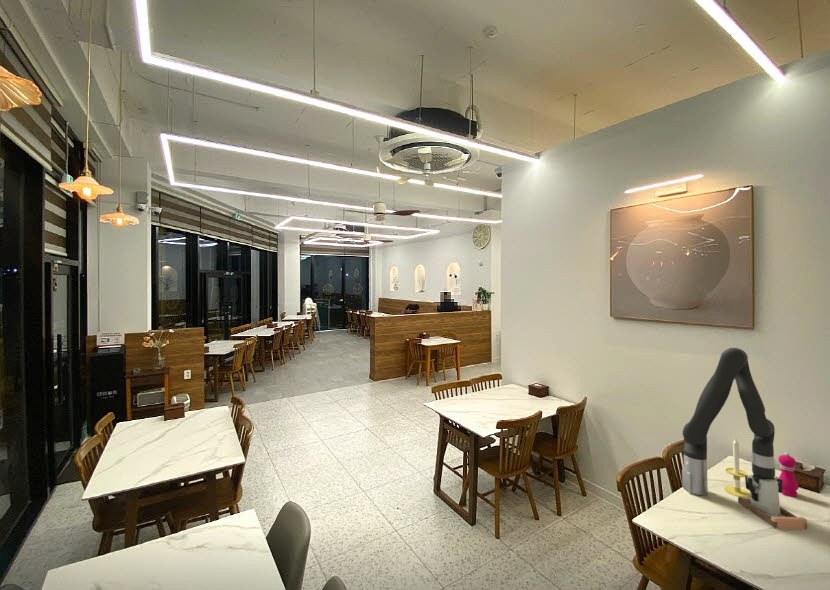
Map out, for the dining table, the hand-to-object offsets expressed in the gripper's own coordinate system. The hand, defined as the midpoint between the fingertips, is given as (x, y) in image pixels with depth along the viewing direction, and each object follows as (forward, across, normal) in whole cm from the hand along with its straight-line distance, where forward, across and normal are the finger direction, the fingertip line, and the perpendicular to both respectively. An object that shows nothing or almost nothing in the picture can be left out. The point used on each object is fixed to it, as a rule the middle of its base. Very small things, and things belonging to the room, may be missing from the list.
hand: (764, 500), depth 163 cm
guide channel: (+5, 0, -3) cm, 5 cm away
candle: (+5, 0, +16) cm, 17 cm away
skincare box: (+5, 0, 0) cm, 5 cm away
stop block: (+5, 0, -12) cm, 13 cm away
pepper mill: (+5, +23, +16) cm, 29 cm away
